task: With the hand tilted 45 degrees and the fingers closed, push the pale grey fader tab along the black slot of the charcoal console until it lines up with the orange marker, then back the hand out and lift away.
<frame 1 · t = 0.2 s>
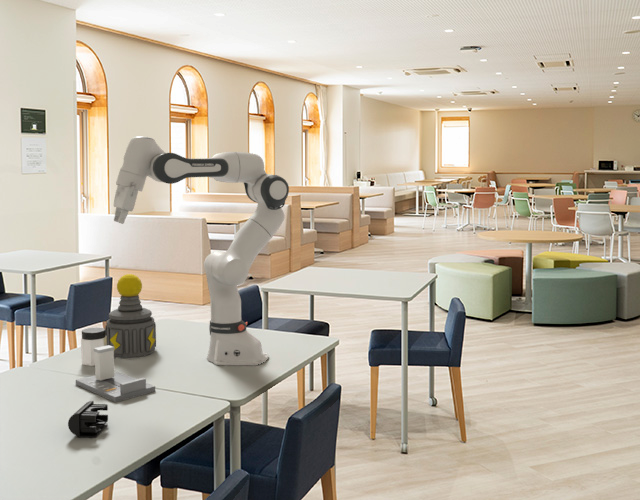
hand: (118, 222, 225), 51 cm above the table, tool tilted 20°, fingers open, 8 cm apart
console: (115, 387, 215), on the table
decorative lamp: (131, 352, 257), on the table
end cap: (89, 432, 180), on the table
jar: (94, 363, 243), on the table
fader tab: (104, 362, 218), point 7 cm above the table, slide at -6.0 cm
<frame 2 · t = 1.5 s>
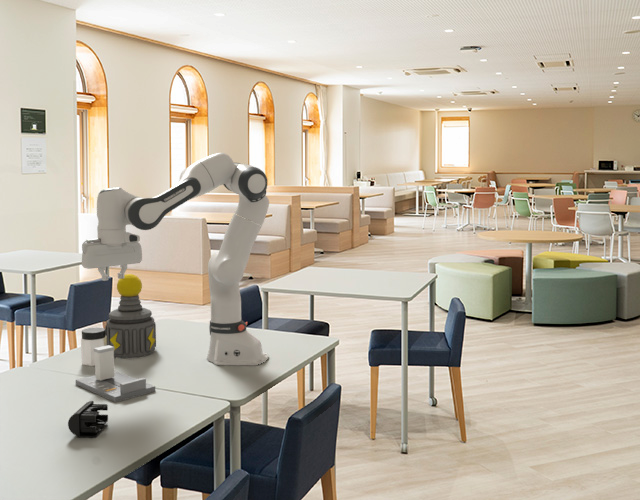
hand: (113, 279, 222), 33 cm above the table, tool pointing down, fingers open, 4 cm apart
nothing on the table moved.
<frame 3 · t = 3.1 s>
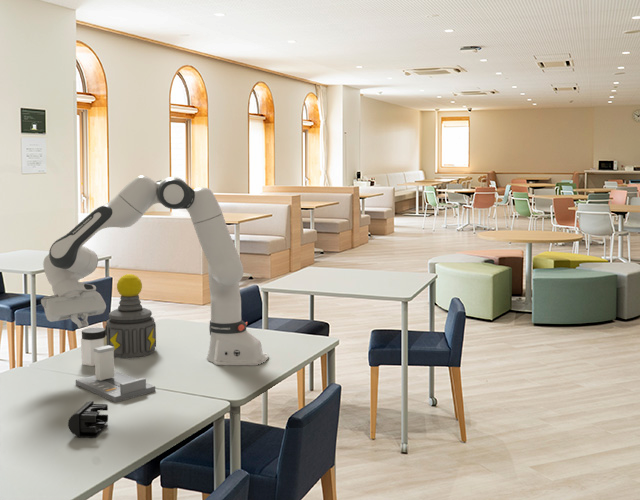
hand: (83, 326, 226), 17 cm above the table, tool tilted 45°, fingers closed
nothing on the table moved.
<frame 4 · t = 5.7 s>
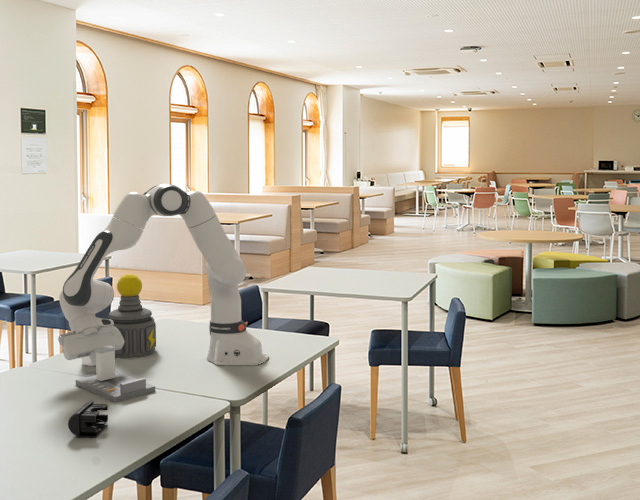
hand: (102, 363, 220), 6 cm above the table, tool tilted 45°, fingers closed, pressing on fader tab
fader tab: (105, 363, 218), point 7 cm above the table, slide at -5.4 cm, touching gripper
everything else where it was.
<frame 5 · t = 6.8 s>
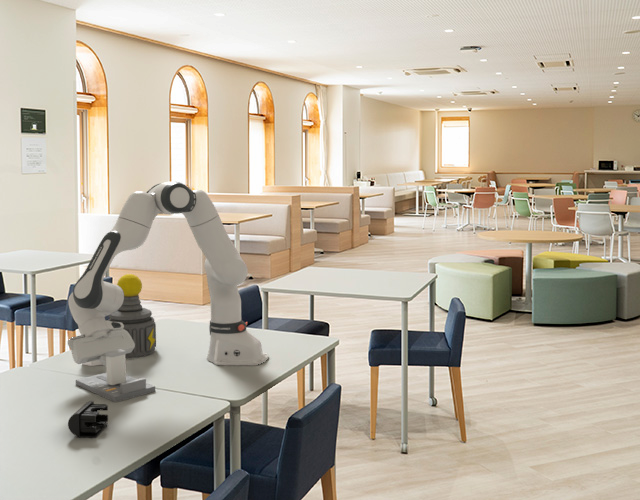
hand: (112, 367, 215), 6 cm above the table, tool tilted 45°, fingers closed, pressing on fader tab
fader tab: (116, 367, 214), point 7 cm above the table, slide at 1.0 cm, touching gripper
everything else where it was.
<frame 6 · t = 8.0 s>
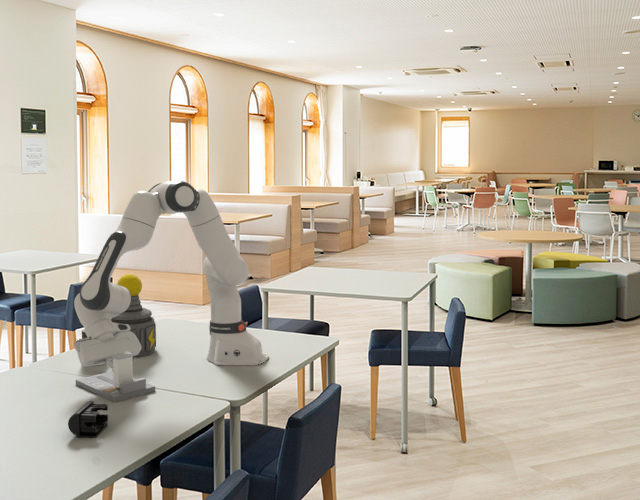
hand: (119, 370, 213), 6 cm above the table, tool tilted 45°, fingers closed, pressing on fader tab
fader tab: (123, 369, 211), point 7 cm above the table, slide at 5.1 cm, touching gripper
everything else where it was.
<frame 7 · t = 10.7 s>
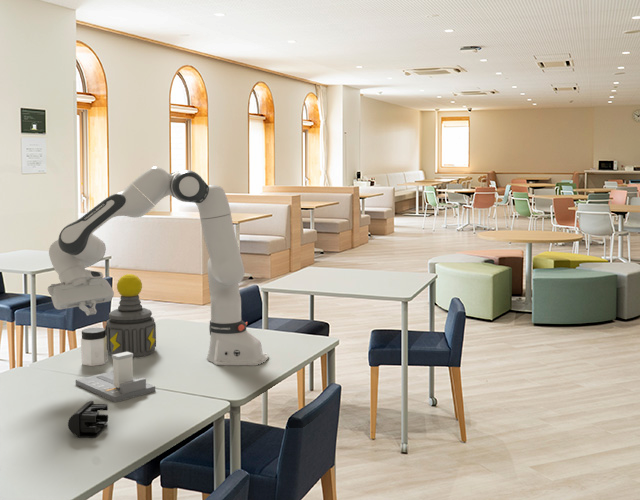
hand: (92, 313, 222), 22 cm above the table, tool tilted 45°, fingers closed
fader tab: (123, 369, 211), point 7 cm above the table, slide at 5.2 cm
everything else where it was.
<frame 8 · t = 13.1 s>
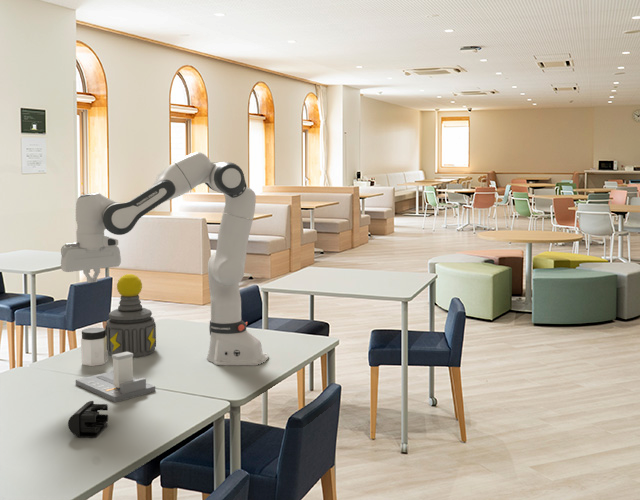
hand: (92, 282, 228), 31 cm above the table, tool pointing down, fingers closed
nothing on the table moved.
at the end: fader tab slide at 5.2 cm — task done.
